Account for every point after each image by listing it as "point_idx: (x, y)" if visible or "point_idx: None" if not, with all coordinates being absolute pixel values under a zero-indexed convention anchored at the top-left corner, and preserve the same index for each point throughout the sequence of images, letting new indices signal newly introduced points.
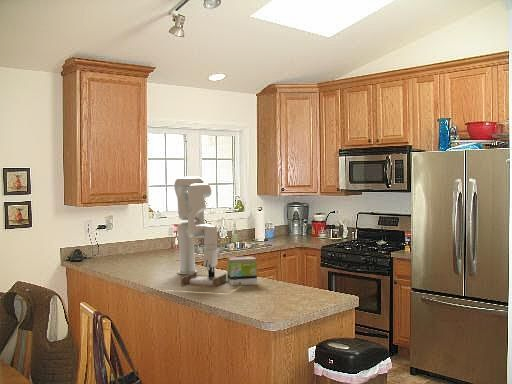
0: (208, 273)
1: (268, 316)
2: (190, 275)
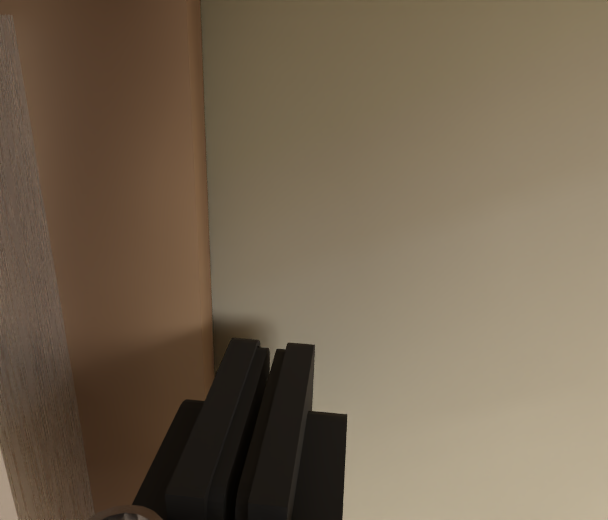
0: (189, 446)
1: None
2: None
